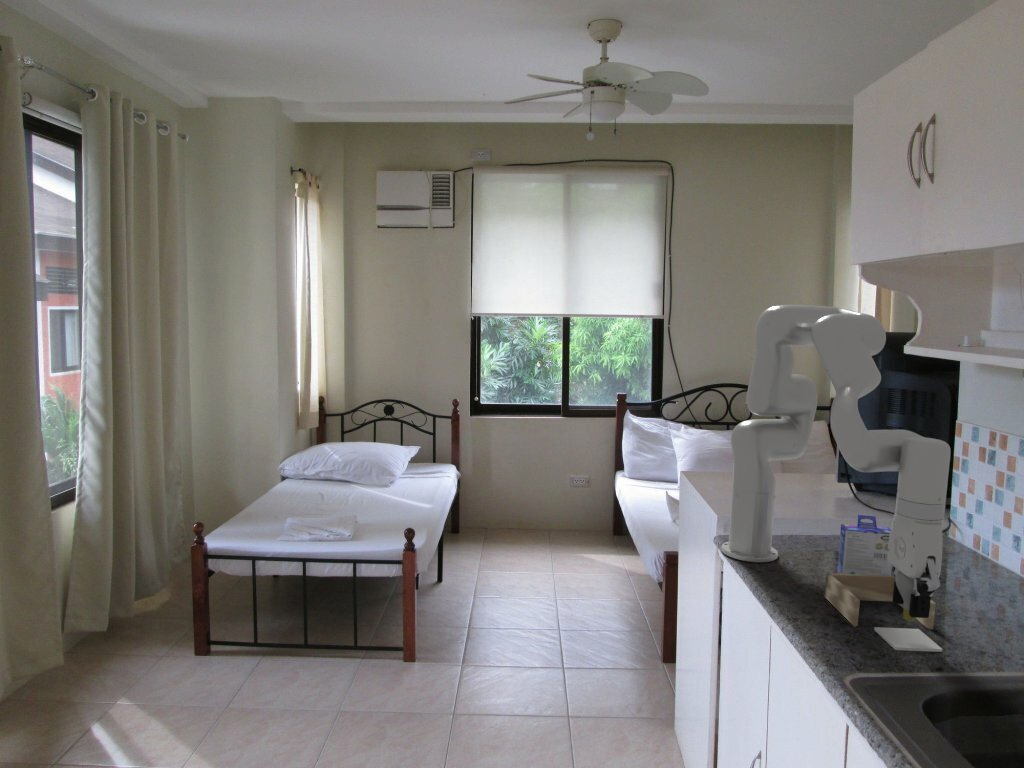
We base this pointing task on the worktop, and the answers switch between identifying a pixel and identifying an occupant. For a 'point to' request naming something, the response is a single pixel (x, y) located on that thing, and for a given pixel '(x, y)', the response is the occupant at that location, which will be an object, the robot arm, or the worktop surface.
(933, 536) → the robot arm
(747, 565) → the worktop surface
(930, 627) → the u-shaped wooden frame
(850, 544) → the ink cartridge box
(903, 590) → the light bulb
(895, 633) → the grey pad
